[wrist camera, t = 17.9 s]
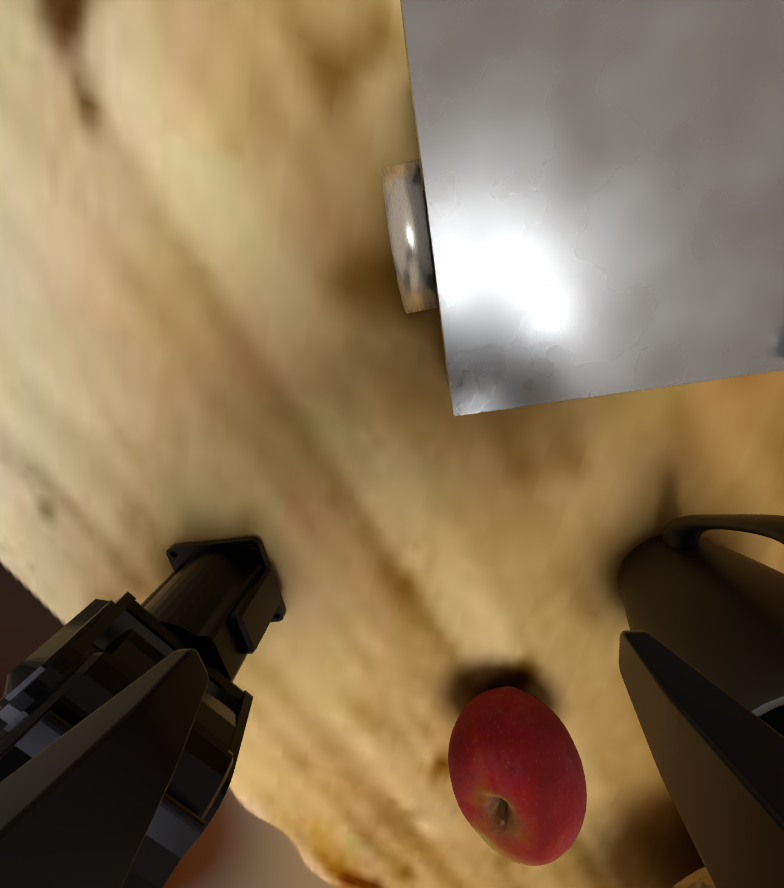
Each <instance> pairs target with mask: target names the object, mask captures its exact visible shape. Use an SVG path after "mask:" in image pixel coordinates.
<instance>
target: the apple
mask: <svg viewBox="0 0 784 888" xmlns="http://www.w3.org/2000/svg"><path fill="white" fill-rule="evenodd" d="M448 764H449V772H450V777H451V782H452V787H453V791H454V794H455V797H456V800H457V802H458V805H459V807H460V809H461V811H462V813H463V814H464V816H465V818H466V819H467V821H468V822H469V823H470V824H471V826H472V827H473V828H474V829H475V831H476V832H477V833H478V834H479V835H480V836H481V838H482V839H483V840H484V841H485V842H486V843H487V844H488V845H489V846H490V847H491V848H492V849H493V850H494V851H496V852H497V853H498V854H500V855H501V856H503V857H504V858H506V859H507V860H509V861H512V862H515V863H519V864H523V865H529V866H538V865H544V864H548V863H551V862H553V861H555V860H556V859H558V858H559V857H560V856H561V855H562V854H564V853H565V852H566V851H567V850H568V849H569V847H570V846H571V845H572V844H573V842H574V841H575V839H576V837H577V836H578V834H579V832H580V830H581V827H582V824H583V820H584V816H585V812H586V801H587V793H586V781H585V775H584V771H583V766H582V762H581V759H580V756H579V754H578V751H577V749H576V747H575V745H574V742H573V740H572V738H571V736H570V734H569V732H568V731H567V729H566V727H565V726H564V724H563V723H562V722H561V720H560V719H559V718H558V716H557V715H556V714H555V713H554V712H553V711H552V710H551V709H550V708H549V707H547V706H546V705H545V704H543V703H542V702H541V701H539V700H538V699H537V698H535V697H533V696H532V695H530V694H528V693H526V692H524V691H522V690H521V689H518V688H516V687H508V686H506V687H498V688H494V689H490V690H487V691H485V692H483V693H481V694H479V695H478V696H476V697H475V698H474V699H472V700H471V701H470V702H469V703H468V704H467V706H466V707H465V708H464V709H463V711H462V712H461V714H460V716H459V717H458V719H457V721H456V724H455V726H454V728H453V731H452V734H451V738H450V743H449V752H448Z"/></svg>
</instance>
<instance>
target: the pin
mask: <svg viewBox="0 0 784 888" xmlns="http://www.w3.org/2000/svg"><path fill="white" fill-rule="evenodd" d="M382 183H383V194H384V202H385V210H386V217H387V224H388V231H389V237H390V243H391V249H392V255H393V260H394V265H395V271H396V276H397V281H398V285H399V290H400V294H401V298H402V302H403V306H404V309H405V311H406V313H412V312H417V311H422V310H428V309H433V308H437V302H436V293H435V285H434V283H437V282H436V274H435V266H434V258H433V251H432V243H431V235H430V227H429V219H428V211H427V203H426V195H425V191H422V184H421V176H420V169H419V162H418V159H417V160H414V161H410V162H406V163H402V164H398V165H394V166H390V167H386V168H383V169H382Z"/></svg>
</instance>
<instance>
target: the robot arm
mask: <svg viewBox="0 0 784 888" xmlns="http://www.w3.org/2000/svg"><path fill="white" fill-rule="evenodd" d="M251 544H253V545H254V546H255V547H253V546H252V545H251ZM166 553H167V556H168V558H169V561H170V563H171V565H172V567H173V569H174V572H173V573H172V574H171V575H170V576H169V577H168V578H167V579H166V580H165V581H164V582H163V583H162V584H161V585H160V586H159V587H158V588H157V589H156V590H155V591H154V592H153V593H152V594H151V595H150V596H149V597H148V598H147V599H146V600H145V601H144V602H143V603H142V604H141V605H140V604H139V603H138V602H136V601H135V599H136V598H135V597H134V596H133V595H131V594H130V593H129V592H126V593H125V594H124V595H123V596H122V597H120V598H119V599H118V600H117V601H116V602H113V601H112V600H110V601H105V600H99V599H95V600H94V601H93V602H92V603H91V604H90V605H88V606H87V607H86V608H85V609H84V610H83V611H81V612H80V613H79V614H78V615H77V616H76V617H74V618H73V619H72V620H71V621H70V622H69V623H67V624H66V625H65V626H64V627H63V628H62V629H60V630H59V631H58V632H57V633H56V634H55V635H54V636H53V637H51V638H50V639H49V640H48V641H47V642H45V643H44V644H43V645H42V646H41V647H40V648H39V649H37V650H36V651H35V652H34V653H33V654H32V655H30V656H29V657H28V658H27V659H26V660H25V661H23V662H22V663H21V664H20V665H19V666H18V667H17V668H15V669H14V670H13V671H12V672H11V673H10V674H8V676H7V682H6V687H5V692H4V697H3V698H2V699H1V700H0V888H162V887H163V886H164V884H165V882H166V881H167V879H168V878H169V876H170V875H171V873H172V872H173V870H174V869H175V867H176V866H177V864H178V862H179V861H180V859H181V858H182V857H183V855H184V854H185V853H186V851H187V850H188V849H189V848H190V847H191V846H192V845H193V843H194V842H195V841H196V840H197V839H198V838H199V836H200V835H201V834H202V832H203V831H204V829H205V828H206V827H207V825H208V824H209V822H210V821H211V819H212V818H213V816H214V814H215V813H216V810H217V809H218V807H219V806H220V804H221V801H222V800H223V798H224V796H225V794H226V791H227V789H228V787H229V785H230V782H231V779H232V776H233V773H234V769H235V765H236V761H237V758H238V754H239V750H240V746H241V742H242V738H243V734H244V731H245V727H246V723H247V719H248V715H249V711H250V708H251V704H252V700H253V696H252V695H250V694H249V693H248V692H247V691H246V690H245V691H243V690H241V689H240V688H239V687H238V686H237V685H235V684H234V683H233V680H234V678H235V676H236V674H237V672H238V671H239V669H240V667H241V665H242V663H243V661H244V660H245V658H246V656H247V654H252V653H253V652H254V651H255V650H256V648H257V646H258V644H259V642H260V641H261V639H262V637H263V635H264V633H265V631H266V629H267V627H268V625H269V623H270V622H278V621H281V620H283V618H284V616H285V613H286V611H285V608H284V605H283V602H282V597H281V594H280V591H279V588H278V585H277V582H276V580H275V577H274V574H273V571H272V569H271V568H270V565H269V562H268V559H267V556H266V554H265V551H264V548H263V545H262V542H261V541H260V540H259V539H258V538H256V537H245V538H235V539H224V540H214V541H203V542H193V543H182V544H174V545H172V546H171V547H170V548H169V549H168V550H167V552H166ZM277 613H278V614H277ZM619 668H620V672H621V675H622V678H623V680H624V683H625V686H626V688H627V691H628V693H629V696H630V698H631V701H632V704H633V706H634V709H635V711H636V714H637V716H638V719H639V722H640V724H641V727H642V729H643V732H644V734H645V737H646V740H647V742H648V745H649V747H650V750H651V752H652V755H653V758H654V760H655V762H656V765H657V767H658V770H659V772H660V775H661V777H662V779H663V781H664V783H665V785H666V787H667V790H668V792H669V794H670V796H671V798H672V800H673V802H674V804H675V806H676V808H677V810H678V812H679V814H680V816H681V818H682V820H683V822H684V824H685V826H686V828H687V830H688V832H689V834H690V836H691V838H692V840H693V843H694V845H695V847H696V849H697V851H698V853H699V855H700V857H701V859H702V861H703V863H704V865H705V867H706V869H707V871H708V873H709V875H710V877H711V879H712V881H713V883H714V885H715V887H716V888H784V737H783V736H782V735H781V734H780V733H778V732H777V731H776V730H774V729H773V728H772V727H770V726H769V725H768V724H767V723H765V722H764V721H763V720H761V719H760V718H759V717H757V716H756V715H755V714H754V713H752V712H751V711H750V710H748V709H747V708H746V707H745V706H743V705H742V704H741V703H739V702H738V701H737V700H735V699H734V698H733V697H732V696H730V695H729V694H728V693H726V692H725V691H724V690H722V689H721V688H720V687H719V686H717V685H716V684H715V683H713V682H712V681H711V680H709V679H708V678H707V677H706V676H704V675H703V674H702V673H700V672H699V671H698V670H696V669H695V668H694V667H693V666H691V665H690V664H689V663H687V662H686V661H685V660H683V659H682V658H681V657H680V656H678V655H677V654H676V653H674V652H673V651H672V650H670V649H669V648H668V647H667V646H665V645H664V644H663V643H661V642H660V641H659V640H658V639H656V638H655V637H654V636H652V635H651V634H650V633H648V632H646V631H644V630H630V631H622V632H621V634H620V643H619Z"/></svg>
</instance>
